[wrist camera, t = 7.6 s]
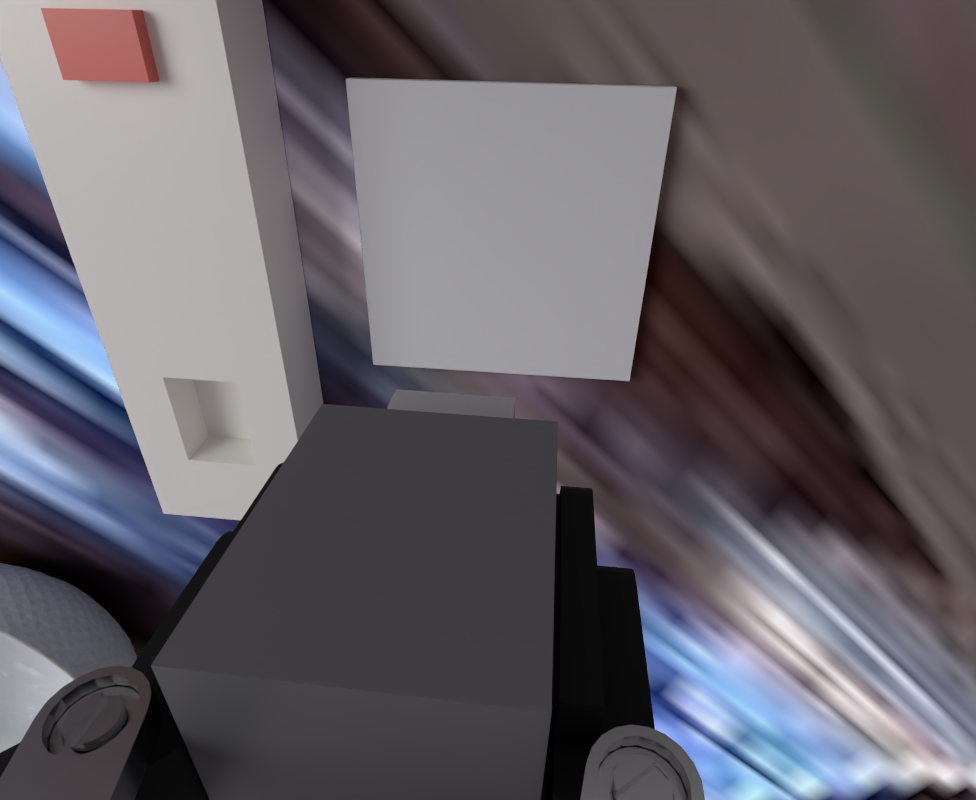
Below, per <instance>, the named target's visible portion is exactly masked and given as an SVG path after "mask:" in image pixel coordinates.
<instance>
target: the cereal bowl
mask: <svg viewBox="0 0 976 800" xmlns="http://www.w3.org/2000/svg"><path fill="white" fill-rule="evenodd" d="M136 660H137V655H136V653H135V651H134V647H133V645H132V644H131V642H130V639H129V637H128V636H127V634H126V633H125V632H124V630H123V629H122V628H121V626H120V624H119V623H117V622H116V620H115V619H114V618H113V617H112V616H111V615H110V614H109V613H108V611H106V610H105V609H104V608H103V607H102V606H100V605H99V604H98V603H97V602H96V601H95V600H93V599H92V598H91V597H90V596H88V595H87V594H86V593H84V592H83V591H81V590H80V589H79V588H77V587H75V586H73V585H71V584H69V583H67V582H65V581H63V580H60V579H57V578H54V577H51V576H49V575H45V574H43V573H42V572H37V571H35V570H31V569H28V568H23V567H20V566H14V565H8V564H1V563H0V753H1V752H3V751H5V750H7V749H9V748H10V747H12V746H14V745H16V744H18V743H20V742H21V741H22V739H23V737H24V735H25V734H26V732H27V730H28V728H29V727H30V725H31V723H32V721H33V720H34V718H35V717H36V715H37V714H38V712H39V711H40V710H41V708H42V707H43V706H44V704H45V703H46V702H47V701H48V700H49V699H50V698H51V697H52V696H53V695H54V694H55V693H56V692H58V691H59V690H60V689H61V688H62V687H63V686H65V685H67V684H68V683H70V682H71V681H73V680H75V679H76V678H78V677H79V676H82V675H84V674H86V673H89V672H91V671H94V670H96V669H100V668H105V667H111V666H126V667H132V665H133V664H134V662H135V661H136Z"/></svg>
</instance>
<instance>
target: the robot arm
mask: <svg viewBox="0 0 976 800" xmlns="http://www.w3.org/2000/svg"><path fill="white" fill-rule="evenodd" d="M282 464H283V463H281V464H279V465H278V466H277V467H276V468H275V470H274V471H273V473H272V474H271V476H270V477H269V479H268V480H267V482H266V483H265V485H264V486H263V488H262V489H261V491H260V492H259V494H258V495H257V497H256V498H255V500H254V501H253V503H252V504H251V506H250V507H249V509H248V510H247V512H246V513H245V515H244V516H243V518H242V519H241V521H240V522H239V524H238V525H237V527H236V528H235V530H234V531H233V532H231V531H229V532H227V533H225V534H223V535H222V536H221V538H220V539H219V540H218V541H217V542H216V544H215V545H214V547H213V548H212V550H211V551H210V553H209V554H208V555H207V557H206V558H205V560H204V561H203V563H202V564H201V566H200V567H199V569H198V570H197V572H196V573H195V575H194V576H193V577H192V579H191V580H190V582H189V583H188V585H187V586H186V588H185V589H184V591H183V592H182V594H181V595H180V596H179V598H178V599H177V601H176V602H175V604H174V605H173V607H172V608H171V610H170V611H169V613H168V614H167V616H166V617H165V618H164V620H163V621H162V623H161V624H160V626H159V627H158V629H157V630H156V632H155V633H154V635H153V636H152V638H151V639H150V640H149V642H148V643H147V645H146V646H145V648H144V649H143V651H142V652H141V654H140V655H139V657H138V658H137V660H136V661H135V662H134V664H133V665H132V667H126V666H111V667H105V668H100V669H96V670H94V671H91V672H89V673H86V674H84V675H82V676H79V677H78V678H76V679H75V680H73V681H71V682H70V683H68V684H67V685H65V686H63V687H62V688H61V689H60V690H59V691H58V692H56V693H55V694H54V695H53V696H52V697H51V698H50V699H49V700H48V701H47V702H46V703H45V704H44V706H43V707H42V708H41V710H40V711H39V712H38V714H37V715H36V717H35V718H34V720H33V721H32V723H31V725H30V727H29V728H28V730H27V732H26V734H25V735H24V737H23V739H22V741H21V742H20V743H18V744H16V745H14V746H12V747H10V748H9V749H7V750H5V751H3V752H1V753H0V800H210V799H209V797H208V795H207V792H206V790H205V788H204V786H203V783H202V781H201V779H200V776H199V774H198V772H197V770H196V767H195V765H194V763H193V761H192V758H191V756H190V754H189V751H188V749H187V747H186V745H185V742H184V740H183V738H182V736H181V733H180V731H179V729H178V726H177V724H176V722H175V720H174V717H173V715H172V713H171V711H170V708H169V706H168V704H167V701H166V699H165V697H164V695H163V692H162V690H161V688H160V685H159V683H158V681H157V679H156V676H155V674H154V672H153V670H152V667H151V664H152V663H153V661H154V660H155V658H156V657H157V655H158V654H159V652H160V651H161V649H162V648H163V646H164V645H165V643H166V642H167V640H168V638H169V637H170V635H171V634H172V632H173V631H174V629H175V628H176V626H177V625H178V623H179V622H180V620H181V619H182V617H183V616H184V614H185V613H186V611H187V609H188V608H189V606H190V605H191V603H192V602H193V600H194V599H195V597H196V596H197V594H198V593H199V591H200V590H201V588H202V587H203V585H204V584H205V582H206V580H207V579H208V577H209V576H210V574H211V573H212V571H213V570H214V568H215V567H216V565H217V564H218V562H219V561H220V559H221V558H222V556H223V554H224V553H225V551H226V550H227V548H228V547H229V545H230V544H231V542H232V541H233V539H234V538H235V536H236V535H237V533H238V532H239V530H240V529H241V527H242V525H243V524H244V522H245V521H246V519H247V518H248V516H249V515H250V513H251V512H252V510H253V509H254V507H255V506H256V504H257V503H258V501H259V500H260V498H261V496H262V495H263V493H264V492H265V490H266V489H267V487H268V486H269V484H270V483H271V481H272V480H273V478H274V477H275V475H276V474H277V472H278V471H279V469H280V467H281V466H282ZM541 800H705V798H704V792H703V785H702V780H701V778H700V776H699V774H698V771H697V769H696V767H695V765H694V763H693V761H692V760H691V759H690V757H689V756H688V755H687V754H686V752H685V751H684V750H683V749H682V747H681V746H680V745H678V744H677V743H676V742H674V741H673V740H672V739H671V738H669V737H668V736H667V735H665V734H663V733H661V732H659V731H656V730H655V728H654V720H653V712H652V704H651V696H650V688H649V680H648V672H647V664H646V657H645V649H644V641H643V633H642V625H641V617H640V609H639V601H638V593H637V585H636V579H635V573H634V571H633V569H628V568H617V567H607V566H597V558H596V541H595V523H594V506H593V491H592V489H591V488H579V487H567V486H561V489H560V494H556V531H555V578H554V624H553V671H552V713H551V721H550V729H549V737H548V745H547V753H546V761H545V768H544V776H543V784H542V792H541Z"/></svg>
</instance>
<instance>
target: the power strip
mask: <svg viewBox="0 0 976 800" xmlns="http://www.w3.org/2000/svg"><path fill="white" fill-rule="evenodd" d="M0 59H1V61H2V64H3V67H4V70H5V73H6V75H7V78H8V81H9V84H10V87H11V89H12V92H13V95H14V98H15V100H16V103H17V106H18V109H19V112H20V114H21V117H22V120H23V123H24V126H25V128H26V131H27V134H28V137H29V140H30V142H31V145H32V148H33V151H34V153H35V156H36V159H37V162H38V165H39V167H40V170H41V173H42V176H43V179H44V181H45V184H46V187H47V190H48V193H49V195H50V198H51V201H52V204H53V206H54V209H55V212H56V215H57V218H58V220H59V223H60V226H61V229H62V232H63V234H64V237H65V240H66V243H67V246H68V248H69V251H70V254H71V257H72V259H73V262H74V265H75V268H76V271H77V273H78V276H79V279H80V282H81V285H82V287H83V290H84V293H85V296H86V299H87V301H88V304H89V307H90V310H91V312H92V315H93V318H94V321H95V324H96V326H97V329H98V332H99V335H100V338H101V340H102V343H103V346H104V349H105V352H106V354H107V357H108V360H109V363H110V365H111V368H112V371H113V374H114V377H115V379H116V382H117V385H118V388H119V391H120V393H121V396H122V399H123V402H124V405H125V407H126V410H127V413H128V416H129V418H130V421H131V424H132V427H133V430H134V432H135V435H136V438H137V441H138V444H139V446H140V449H141V452H142V455H143V458H144V460H145V463H146V466H147V469H148V471H149V474H150V477H151V480H152V483H153V485H154V488H155V491H156V494H157V497H158V499H159V502H160V505H161V508H162V511H163V513H164V514H175V515H186V516H198V517H209V518H221V519H232V520H241V519H242V518H243V516H244V515H245V513H246V512H247V510H248V509H249V507H250V506H251V504H252V503H253V501H254V500H255V498H256V497H257V495H258V494H259V492H260V491H261V489H262V488H263V486H264V485H265V483H266V482H267V480H268V479H269V477H270V476H271V474H272V473H273V471H274V470H275V468H276V467H277V466H278V465H279V464H281V463H284V461H285V460H286V458H287V457H288V455H289V454H290V452H291V451H292V449H293V448H294V446H295V445H296V443H297V442H298V440H299V438H300V437H301V435H302V434H303V432H304V431H305V429H306V428H307V426H308V425H309V423H310V422H311V420H312V419H313V417H314V416H315V414H316V412H317V411H318V409H319V408H320V406H321V405H322V404H323V397H322V391H321V384H320V378H319V371H318V364H317V358H316V351H315V345H314V338H313V332H312V325H311V318H310V312H309V305H308V299H307V292H306V285H305V279H304V272H303V266H302V259H301V253H300V246H299V239H298V233H297V226H296V220H295V213H294V206H293V200H292V193H291V187H290V180H289V174H288V167H287V160H286V154H285V147H284V141H283V134H282V127H281V121H280V114H279V108H278V101H277V94H276V88H275V81H274V75H273V68H272V62H271V55H270V48H269V42H268V35H267V29H266V22H265V15H264V9H263V2H262V0H0Z"/></svg>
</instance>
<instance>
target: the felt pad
mask: <svg viewBox="0 0 976 800" xmlns="http://www.w3.org/2000/svg"><path fill="white" fill-rule="evenodd" d="M346 88H347V98H348V109H349V119H350V129H351V140H352V150H353V160H354V171H355V181H356V192H357V202H358V212H359V223H360V233H361V243H362V254H363V264H364V275H365V285H366V295H367V306H368V316H369V326H370V337H371V347H372V358H373V365H388V366H403V367H419V368H434V369H450V370H465V371H481V372H496V373H512V374H527V375H543V376H558V377H574V378H589V379H605V380H620V381H630V375H631V369H632V362H633V356H634V350H635V344H636V338H637V331H638V325H639V319H640V313H641V307H642V301H643V294H644V288H645V282H646V276H647V270H648V263H649V257H650V251H651V245H652V239H653V233H654V226H655V220H656V214H657V208H658V202H659V195H660V189H661V183H662V177H663V171H664V164H665V158H666V152H667V146H668V140H669V134H670V127H671V121H672V115H673V109H674V103H675V96H676V90H677V87H675V86H655V85H617V84H579V83H541V82H502V81H464V80H426V79H388V78H346Z"/></svg>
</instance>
